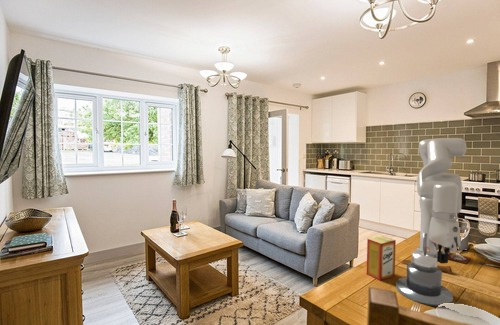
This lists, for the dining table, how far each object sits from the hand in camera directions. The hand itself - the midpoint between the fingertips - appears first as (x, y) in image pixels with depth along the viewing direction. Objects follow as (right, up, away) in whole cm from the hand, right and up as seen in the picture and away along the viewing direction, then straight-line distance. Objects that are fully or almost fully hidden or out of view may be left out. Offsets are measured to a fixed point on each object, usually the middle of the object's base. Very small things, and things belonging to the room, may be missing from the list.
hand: (442, 262), depth 102 cm
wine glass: (+41, -9, +44) cm, 61 cm away
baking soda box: (-18, -10, +12) cm, 24 cm away
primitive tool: (+6, -10, +19) cm, 23 cm away
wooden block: (-6, -1, +1) cm, 6 cm away
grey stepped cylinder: (-9, -11, -2) cm, 14 cm away
